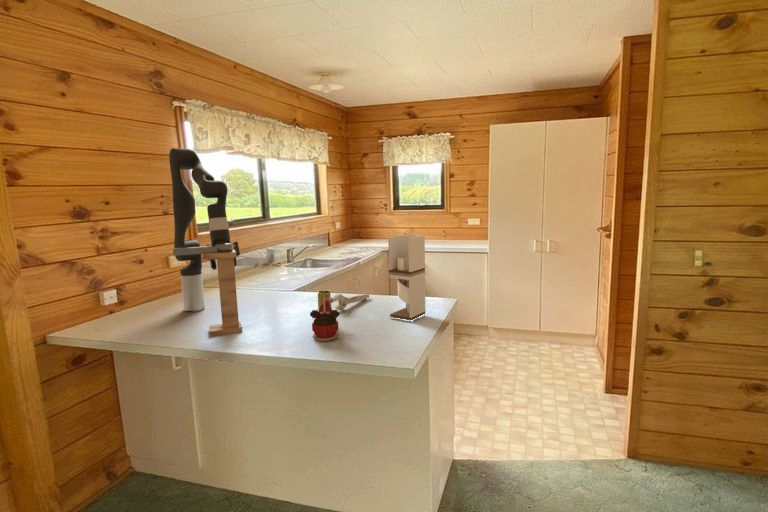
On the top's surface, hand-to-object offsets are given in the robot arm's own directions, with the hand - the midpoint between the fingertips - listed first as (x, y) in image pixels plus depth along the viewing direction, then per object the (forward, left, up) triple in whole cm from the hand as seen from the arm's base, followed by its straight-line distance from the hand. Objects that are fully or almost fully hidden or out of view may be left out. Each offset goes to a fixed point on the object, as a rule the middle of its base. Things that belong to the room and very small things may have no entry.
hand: (224, 268), depth 179 cm
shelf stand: (+9, -2, -24) cm, 26 cm away
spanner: (+9, -8, +8) cm, 15 cm away
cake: (+36, +32, -24) cm, 54 cm away
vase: (+21, +36, -24) cm, 49 cm away
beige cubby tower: (+26, +71, -24) cm, 80 cm away
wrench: (-4, +56, -24) cm, 61 cm away
